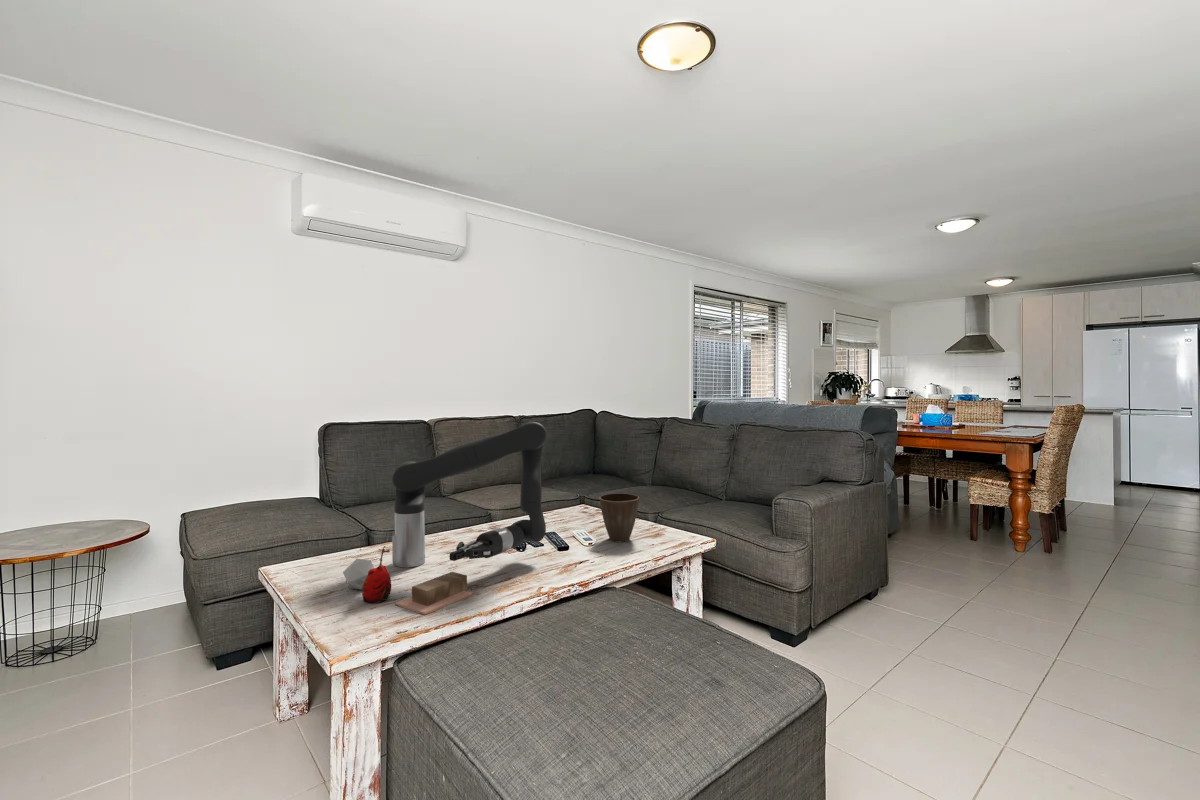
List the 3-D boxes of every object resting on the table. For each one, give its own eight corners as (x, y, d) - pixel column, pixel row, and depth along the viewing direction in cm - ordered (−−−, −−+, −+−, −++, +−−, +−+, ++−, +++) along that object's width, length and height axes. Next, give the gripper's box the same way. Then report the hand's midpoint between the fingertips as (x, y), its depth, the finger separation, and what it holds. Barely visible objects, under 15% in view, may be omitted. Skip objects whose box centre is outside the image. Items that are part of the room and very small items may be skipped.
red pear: (380, 592, 155) (379, 539, 154) (397, 597, 152) (397, 543, 151) (356, 602, 148) (356, 546, 148) (375, 607, 145) (374, 550, 144)
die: (347, 597, 153) (369, 569, 154) (331, 577, 157) (352, 549, 158) (367, 598, 160) (388, 570, 161) (351, 578, 164) (372, 552, 165)
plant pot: (626, 547, 197) (626, 502, 197) (591, 541, 206) (591, 498, 205) (646, 537, 210) (646, 495, 210) (612, 532, 218) (612, 491, 218)
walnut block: (452, 571, 159) (411, 586, 147) (466, 575, 156) (426, 591, 144) (452, 585, 159) (412, 601, 147) (467, 589, 156) (427, 606, 144)
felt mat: (442, 586, 160) (442, 584, 160) (471, 594, 153) (471, 592, 153) (395, 604, 146) (395, 602, 146) (425, 614, 140) (425, 612, 140)
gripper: (479, 527, 173) (435, 540, 158) (510, 533, 165) (467, 547, 151) (479, 550, 173) (435, 566, 158) (511, 558, 166) (468, 574, 151)
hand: (451, 557), depth 155 cm, fingers closed
